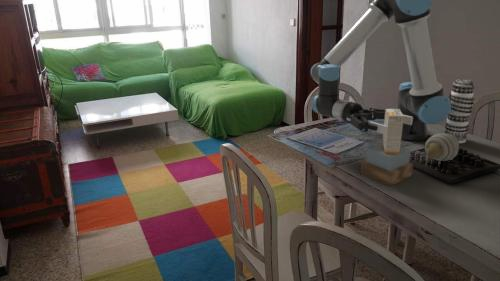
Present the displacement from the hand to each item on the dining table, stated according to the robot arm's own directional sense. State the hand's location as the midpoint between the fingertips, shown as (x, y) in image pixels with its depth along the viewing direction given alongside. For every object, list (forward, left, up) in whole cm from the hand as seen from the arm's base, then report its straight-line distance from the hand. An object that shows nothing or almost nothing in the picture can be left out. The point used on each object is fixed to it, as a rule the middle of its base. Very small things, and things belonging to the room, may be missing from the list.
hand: (400, 125), depth 123 cm
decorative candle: (-48, -4, -19) cm, 52 cm away
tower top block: (0, -3, -14) cm, 14 cm away
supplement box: (0, -3, -9) cm, 10 cm away
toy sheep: (-23, +4, -19) cm, 30 cm away
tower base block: (0, -3, -19) cm, 19 cm away
